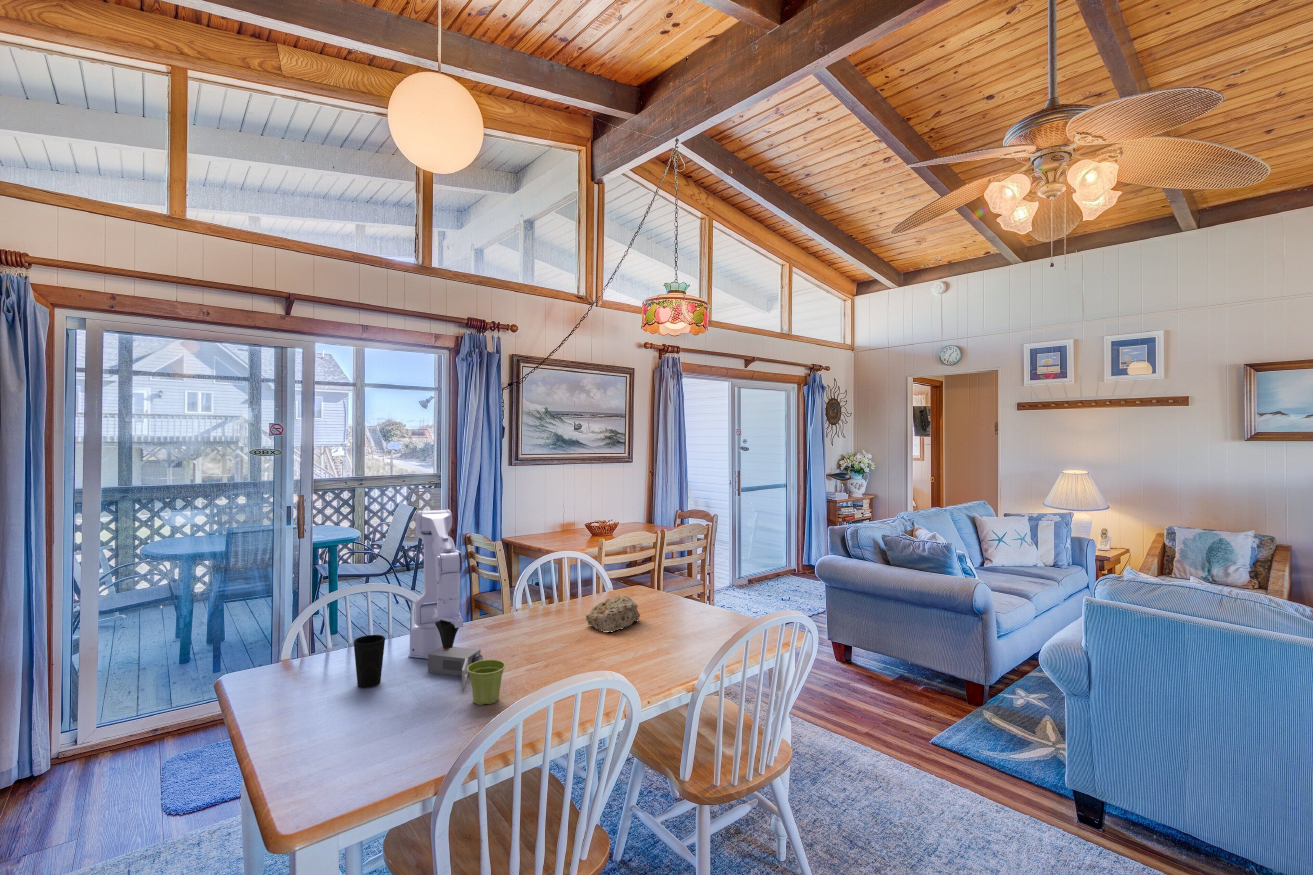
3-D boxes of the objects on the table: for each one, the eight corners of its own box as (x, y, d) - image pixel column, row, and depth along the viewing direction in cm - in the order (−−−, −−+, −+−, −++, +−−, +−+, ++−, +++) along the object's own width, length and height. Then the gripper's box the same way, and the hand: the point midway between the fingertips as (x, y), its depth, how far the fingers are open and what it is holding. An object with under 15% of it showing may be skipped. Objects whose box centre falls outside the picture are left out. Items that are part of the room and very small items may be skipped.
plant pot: (484, 711, 151) (485, 676, 151) (458, 702, 156) (459, 668, 156) (513, 698, 159) (513, 664, 159) (487, 689, 164) (487, 656, 164)
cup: (353, 691, 161) (354, 645, 161) (352, 681, 168) (353, 637, 168) (385, 686, 165) (386, 641, 165) (383, 676, 172) (384, 633, 172)
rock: (616, 638, 209) (608, 609, 209) (584, 640, 217) (577, 612, 217) (649, 617, 226) (643, 590, 226) (619, 619, 234) (612, 593, 234)
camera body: (427, 672, 175) (428, 652, 175) (443, 662, 183) (443, 643, 183) (471, 677, 172) (471, 656, 172) (485, 667, 179) (485, 647, 179)
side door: (466, 688, 164) (466, 670, 164) (461, 688, 164) (461, 670, 164) (469, 675, 172) (469, 658, 172) (464, 675, 172) (465, 658, 172)
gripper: (423, 594, 170) (422, 643, 170) (444, 605, 159) (444, 658, 159) (448, 590, 175) (447, 638, 175) (471, 601, 164) (470, 652, 164)
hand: (447, 647), depth 167 cm, fingers closed
